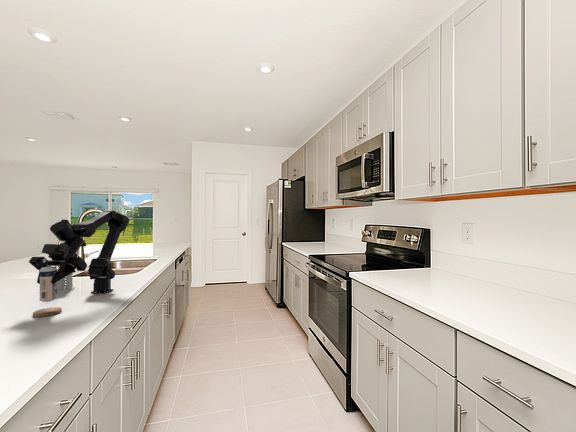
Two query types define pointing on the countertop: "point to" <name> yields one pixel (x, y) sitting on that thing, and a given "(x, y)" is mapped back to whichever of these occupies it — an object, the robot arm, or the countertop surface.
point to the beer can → (47, 284)
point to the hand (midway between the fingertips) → (45, 283)
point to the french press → (61, 283)
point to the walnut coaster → (47, 312)
